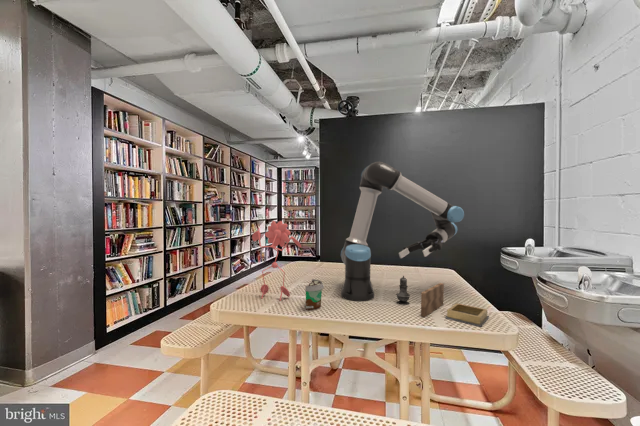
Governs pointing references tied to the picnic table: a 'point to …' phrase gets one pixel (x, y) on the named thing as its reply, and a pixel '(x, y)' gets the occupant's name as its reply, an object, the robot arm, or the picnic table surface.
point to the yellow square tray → (467, 314)
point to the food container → (314, 294)
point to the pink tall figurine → (276, 237)
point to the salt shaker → (403, 292)
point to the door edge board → (432, 299)
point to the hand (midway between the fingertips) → (411, 254)
